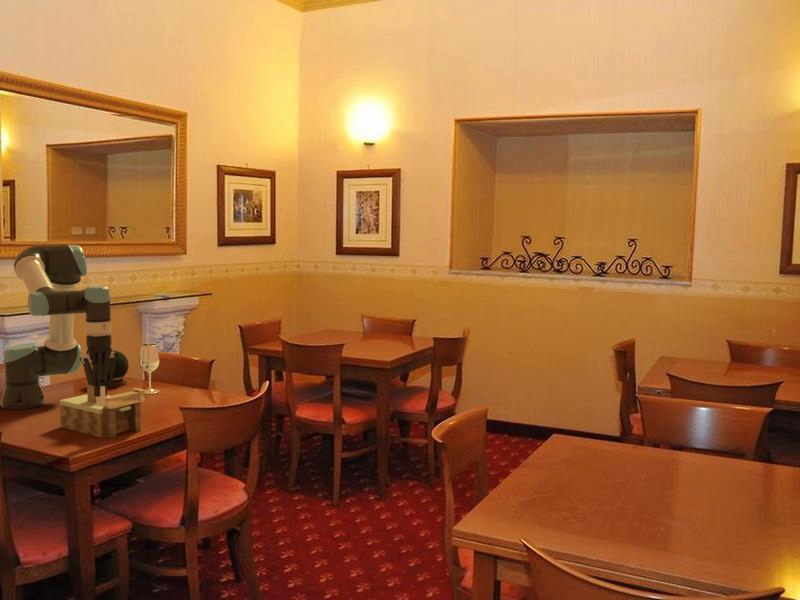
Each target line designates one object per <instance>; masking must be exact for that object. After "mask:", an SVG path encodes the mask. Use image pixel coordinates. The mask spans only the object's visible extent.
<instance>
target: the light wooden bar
mask: <svg viewBox="0 0 800 600" xmlns="http://www.w3.org/2000/svg"><path fill="white" fill-rule="evenodd" d="M145 390H146V389H143V388H132V391H127V392H123V393H119V394H114V395H109V397H105V402H106V406H103V408H106V409H113V408H118V407H122V406H126V405H130V404H134V403H138V402H140V403H144V402H146V399H145V398H146V396H145V395H146V394H145Z"/></svg>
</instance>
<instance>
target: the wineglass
mask: <svg viewBox="0 0 800 600" xmlns="http://www.w3.org/2000/svg"><path fill="white" fill-rule="evenodd" d="M140 348H141V349H140V354H139V366H140V369H142V370H143V371H145V372H147V374H148V388H147V389H144V390H145V395H155V394H158V393H160V392H161V391H160V390H159V389H153V388H152V384H151V383H152V382H151V379H152V372H154V371H155V370H157V368H158V367H159V365H160V357H159V356H160V355H159V351H158V347H157V344H156V343H144V344H142V345H141V347H140Z"/></svg>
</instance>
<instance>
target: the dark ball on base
mask: <svg viewBox="0 0 800 600" xmlns="http://www.w3.org/2000/svg"><path fill="white" fill-rule="evenodd" d="M112 351H113V352H114V353H118V357H117V359H116V363H115V368H114V374H113V380H112V382H111V383H108V384H109V385H108V386H107V389H110V388H111V387H115V388H120V386H122V387H124V385H125V386H127V385H126V384H127V383H128V382H127V381H126V379H124V377H125V376H126V374H127V373H128V371H129V366H130V365H129V360H128V357H127V356H126V355H125V354H124V353H123V352H121V351H119V350H112ZM108 359H109V358H108Z"/></svg>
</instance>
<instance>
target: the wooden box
mask: <svg viewBox="0 0 800 600" xmlns="http://www.w3.org/2000/svg"><path fill="white" fill-rule="evenodd" d="M128 406H131V409H129V410H125V411H116V410H115V408H113V409H106V408H103V413H102V414H98V413H94V412H90V411H85V410H81V409H77V408H73V407H68V406H64V405H60V404H59V416H60V417H59V418H60V420H59V421H60V428H63V429H67V430H71V431H74V432H77V433H82V434H87V435H89V436H93V437H98V438H107V439H110V440H111V439H116V438H117V434H120V433H123V432H126V431H131V432H135V433H136V432H139V431H142V426H141V425H142V424H141V423H142V421H141V418H142V417H141V416H142V415H141V402H138V403H134V404H130V405H128Z"/></svg>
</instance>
